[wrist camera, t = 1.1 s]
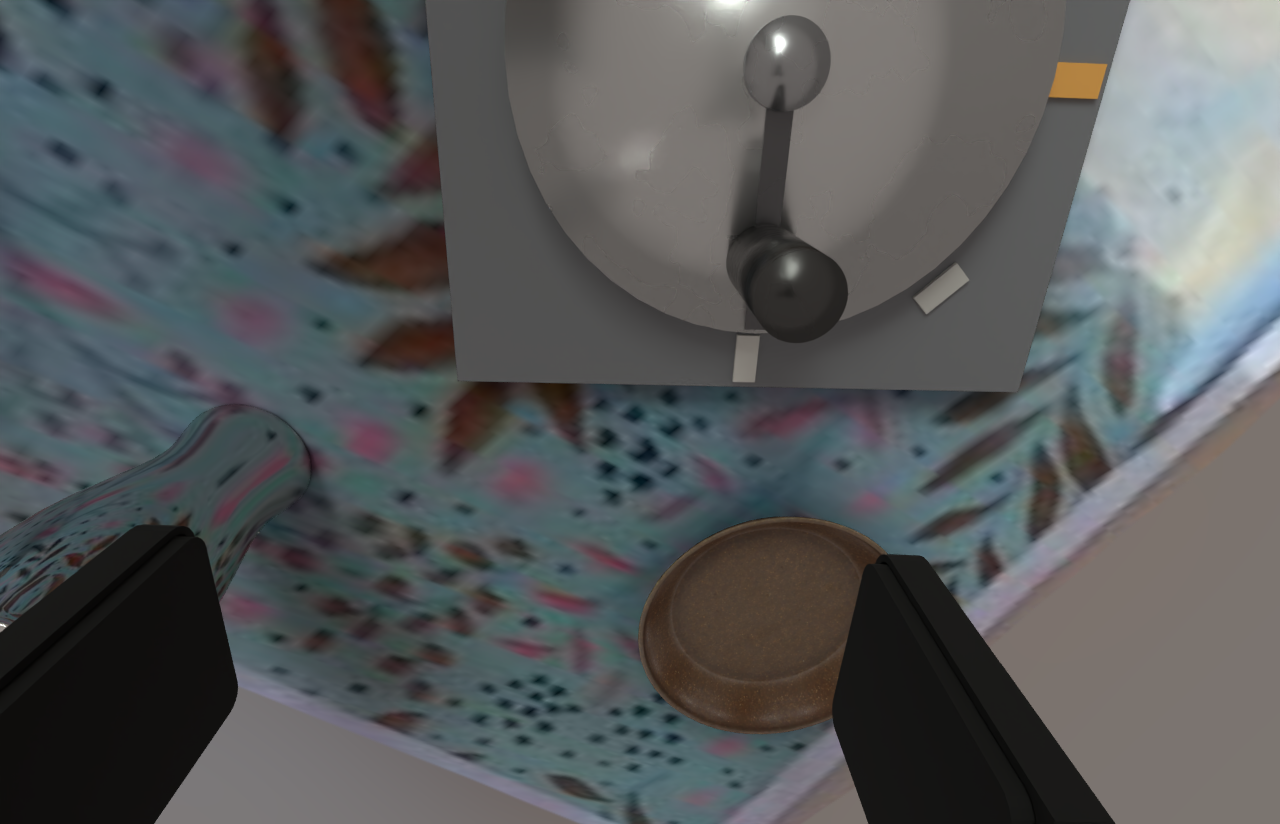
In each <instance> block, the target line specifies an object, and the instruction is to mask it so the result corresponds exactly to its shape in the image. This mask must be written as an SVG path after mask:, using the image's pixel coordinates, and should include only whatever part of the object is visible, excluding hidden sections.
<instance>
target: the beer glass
mask: <svg viewBox="0 0 1280 824" xmlns="http://www.w3.org/2000/svg"><path fill="white" fill-rule="evenodd" d="M310 477H311V461H310V457H309V454H308V451H307V449H306V447H305V445H304V443H303V441H302V440H301V438H300V437H299V436H298V435H297V433H296V432H295V431H294V430H293V429H292V428H291V427H290V426H289V425H288V424H286V423H285V422H284V421H283V420H281V419H280V418H278V417H277V416H275V415H273V414H271V413H269V412H267V411H265V410H262V409H259V408H256V407H252V406H247V405H238V404H230V405H222V406H218V407H214V408H211V409H209V410H207V411H205V412H203V413H202V414H200V415H199V416H197V417H196V418H195V419H194V420H193V421H192V422H191V423H190V424H189V425H188V427H187V428H186V429H185V430H184V431H183V433H182V434H181V435H180V437H179V438H178V439H177V440H176V442H175V443H174V444H173V445H172V446H171V447H170V448H168V449H167V450H166V451H165V452H163V453H162V454H160V455H158V456H157V457H155V458H153V459H152V460H149V461H147V462H145V463H143V464H141V465H139V466H136V467H134V468H132V469H130V470H127V471H125V472H122V473H120V474H118V475H115V476H113V477H111V478H108V479H106V480H104V481H101V482H99V483H97V484H94V485H92V486H90V487H88V488H85V489H83V490H81V491H79V492H76V493H74V494H72V495H70V496H68V497H66V498H64V499H62V500H60V501H58V502H56V503H54V504H52V505H50V506H48V507H46V508H44V509H42V510H40V511H39V512H37V513H35V514H34V515H32V516H30V517H29V518H27V519H25V520H24V521H22V522H21V523H19V524H17V525H16V526H14V527H13V528H11V529H9V530H8V531H6V532H4V533H3V534H1V535H0V632H1V631H3V630H4V629H5V628H6V627H8V626H9V625H10V624H11V623H13V622H14V621H15V620H16V619H18V618H19V617H20V616H21V615H23V614H24V613H25V612H26V611H28V610H29V609H30V608H32V607H33V606H34V605H35V604H37V603H38V602H39V601H40V600H42V599H43V598H44V597H45V596H47V595H48V594H49V593H50V592H52V591H53V590H54V589H55V588H57V587H58V586H59V585H60V584H62V583H63V582H64V581H66V580H67V579H68V578H69V577H71V576H72V575H73V574H74V573H76V572H77V571H78V570H79V569H81V568H82V567H83V566H84V565H86V564H87V563H88V562H89V561H91V560H92V559H93V558H95V557H96V556H97V555H98V554H100V553H101V552H102V551H103V550H105V549H106V548H107V547H108V546H110V545H111V544H112V543H113V542H115V541H116V540H117V539H118V538H120V537H121V536H122V535H124V534H125V533H126V532H127V531H129V530H130V529H131V528H133V527H135V526H137V525H142V524H150V525H175V526H185V527H188V528H190V529H191V530H192V531H193V533H194V535H195V537H199V538H201V539H202V540H203V541H204V542H205V545H206V547H207V552H208V556H209V560H210V565H211V569H212V573H213V578H214V582H215V587H216V591H217V595H218V600H219V603H220V602H221V600H222V598H223V596H224V595H225V593H226V591H227V589H228V587H229V585H230V583H231V581H232V580H233V578H234V576H235V574H236V572H237V570H238V568H239V566H240V564H241V562H242V560H243V559H244V557H245V555H246V553H247V551H248V549H249V547H250V546H251V544H252V542H253V540H254V539H255V537H256V536H257V534H258V533H260V530H261V529H262V528H263V527H264V526H265V525H266V524H267V523H268V522H269V521H270V520H272V519H273V518H275V517H276V516H278V515H279V514H280V513H282V512H283V511H285V510H286V509H288V508H289V507H291V506H292V505H293V504H295V503H296V502H297V501H298V500H299V499H300V498H301V497H302V495H303V494H304V493H305V491H306V489H307V487H308V485H309V482H310Z"/></svg>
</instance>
